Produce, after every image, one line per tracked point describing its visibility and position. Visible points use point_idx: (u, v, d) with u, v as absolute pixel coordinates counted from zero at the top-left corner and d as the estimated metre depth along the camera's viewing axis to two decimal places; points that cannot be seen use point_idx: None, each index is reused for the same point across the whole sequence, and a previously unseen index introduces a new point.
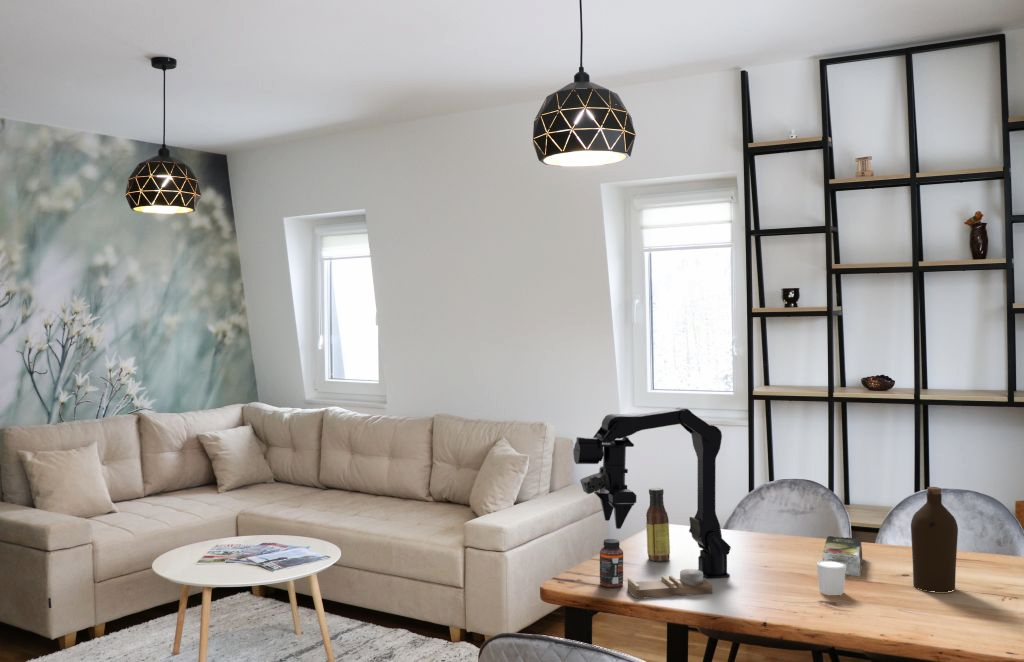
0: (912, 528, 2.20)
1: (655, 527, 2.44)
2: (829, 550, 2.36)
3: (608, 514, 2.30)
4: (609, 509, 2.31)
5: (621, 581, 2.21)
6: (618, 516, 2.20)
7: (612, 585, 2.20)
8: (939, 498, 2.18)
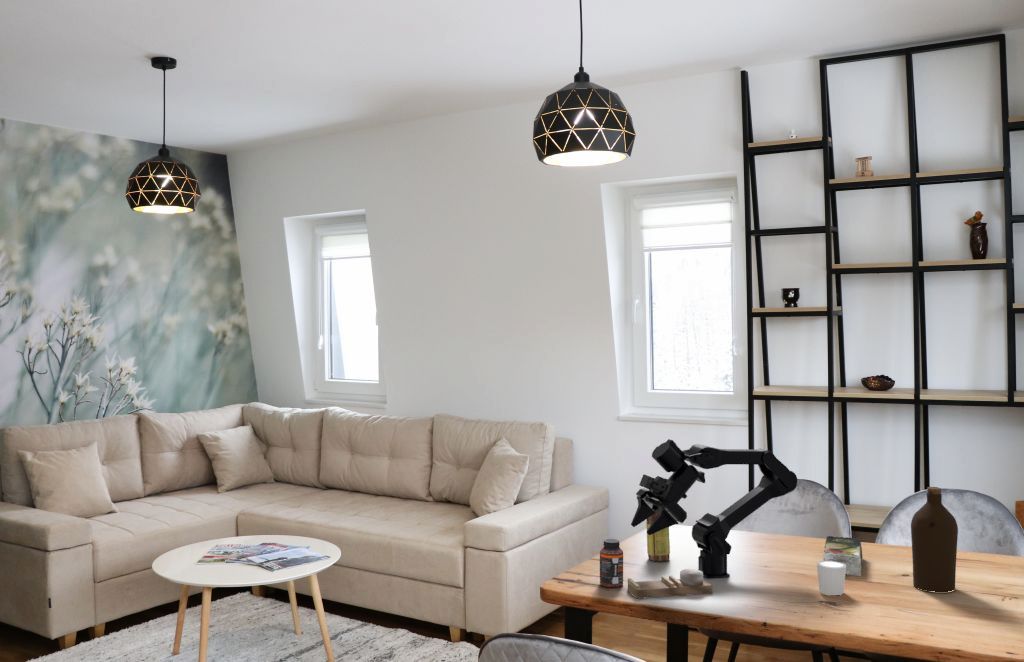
0: (912, 528, 2.20)
1: None
2: (830, 550, 2.36)
3: (636, 521, 2.30)
4: (640, 518, 2.30)
5: (621, 581, 2.21)
6: (657, 523, 2.20)
7: (612, 585, 2.20)
8: (939, 498, 2.18)
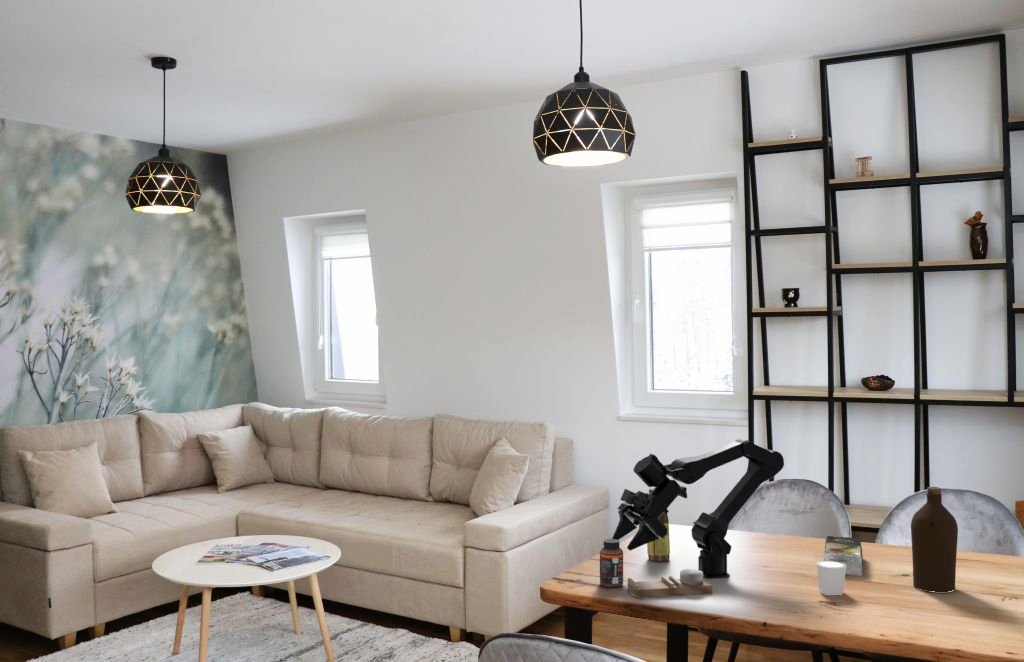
0: (912, 528, 2.20)
1: None
2: (830, 550, 2.36)
3: (618, 536, 2.28)
4: (621, 533, 2.29)
5: (621, 581, 2.21)
6: (637, 539, 2.19)
7: (612, 585, 2.20)
8: (939, 498, 2.18)
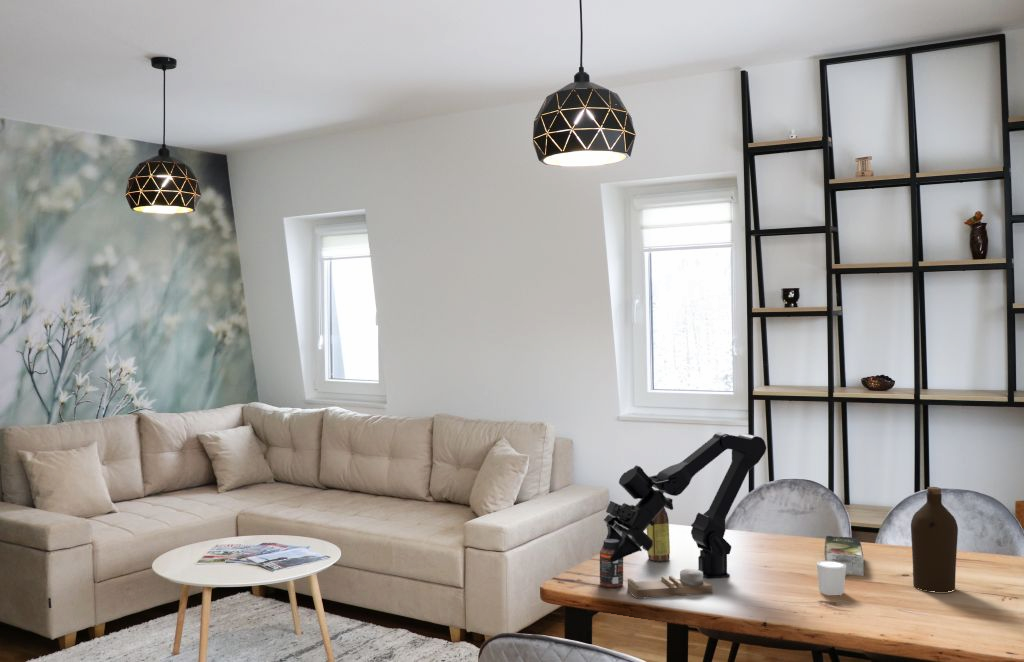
0: (912, 528, 2.20)
1: (655, 527, 2.44)
2: (832, 550, 2.36)
3: None
4: None
5: (621, 581, 2.21)
6: (620, 550, 2.19)
7: (612, 585, 2.20)
8: (939, 498, 2.18)
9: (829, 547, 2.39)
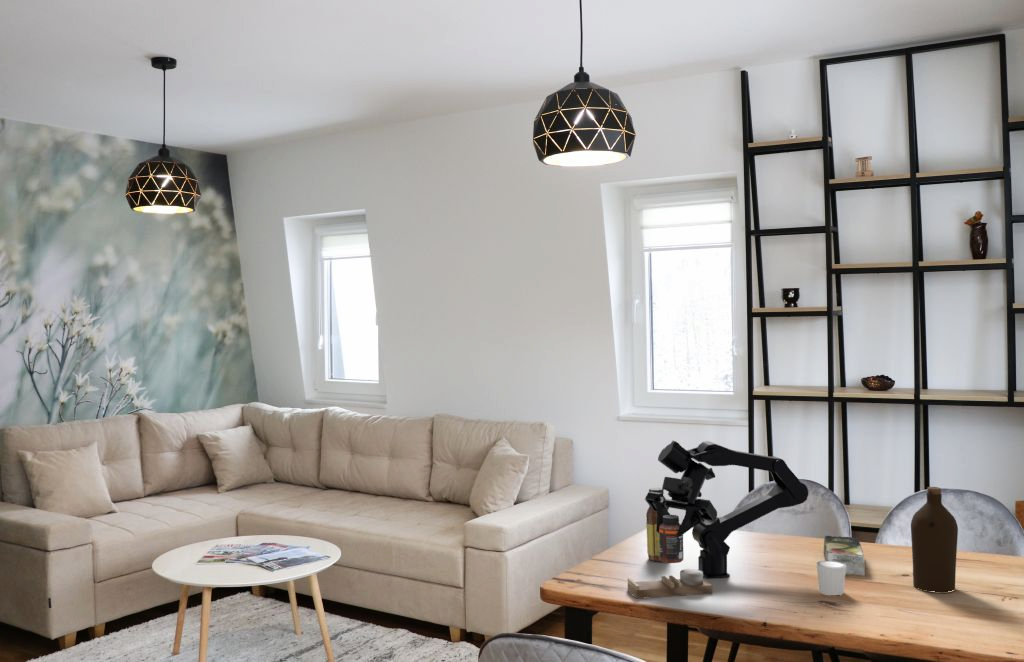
0: (912, 528, 2.20)
1: (655, 527, 2.44)
2: (832, 550, 2.36)
3: None
4: None
5: None
6: (686, 524, 2.20)
7: (678, 560, 2.20)
8: (939, 498, 2.18)
9: (829, 547, 2.39)
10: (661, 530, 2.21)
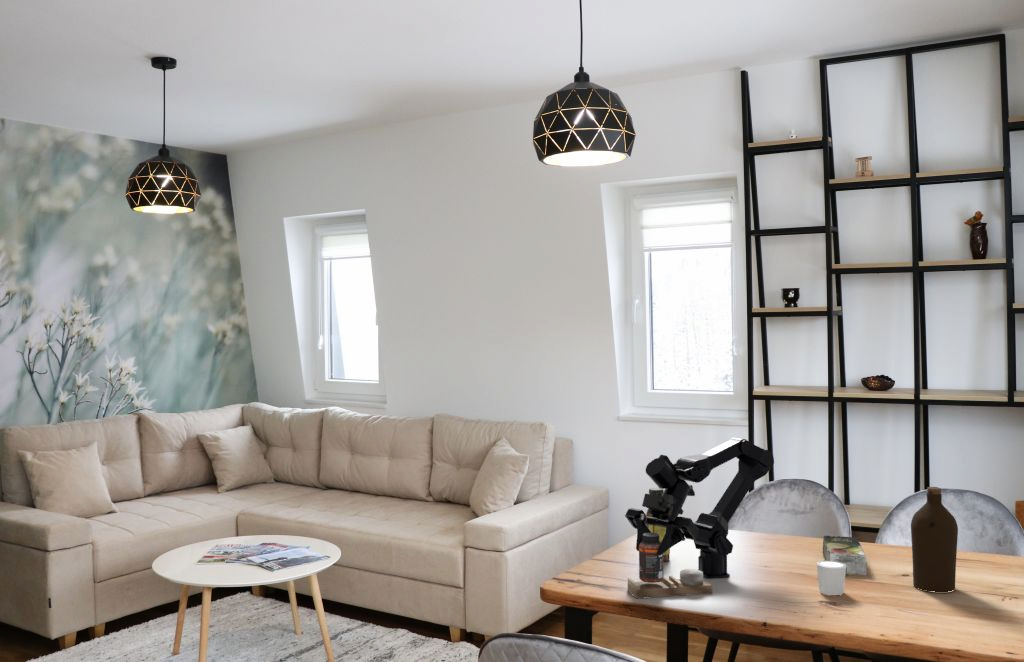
0: (912, 528, 2.20)
1: (655, 527, 2.44)
2: (834, 550, 2.36)
3: None
4: None
5: (663, 574, 2.16)
6: (666, 542, 2.14)
7: (658, 580, 2.14)
8: (939, 498, 2.18)
9: (830, 547, 2.39)
10: (641, 548, 2.15)
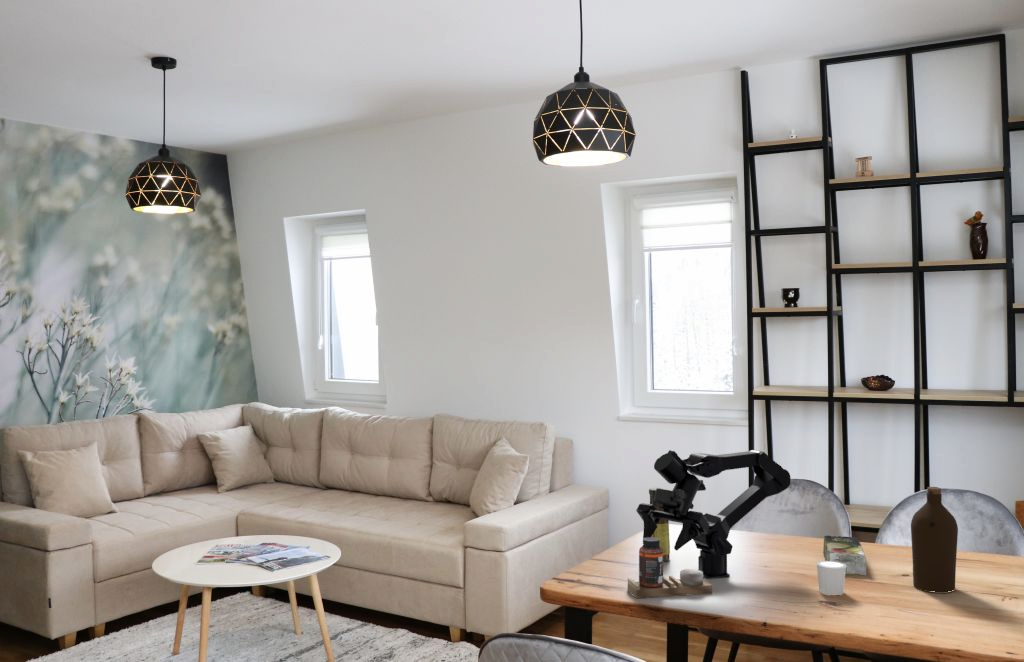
0: (912, 528, 2.20)
1: None
2: (833, 550, 2.36)
3: None
4: (649, 534, 2.23)
5: None
6: (683, 537, 2.16)
7: (658, 585, 2.14)
8: (939, 498, 2.18)
9: (830, 547, 2.39)
10: (641, 553, 2.15)
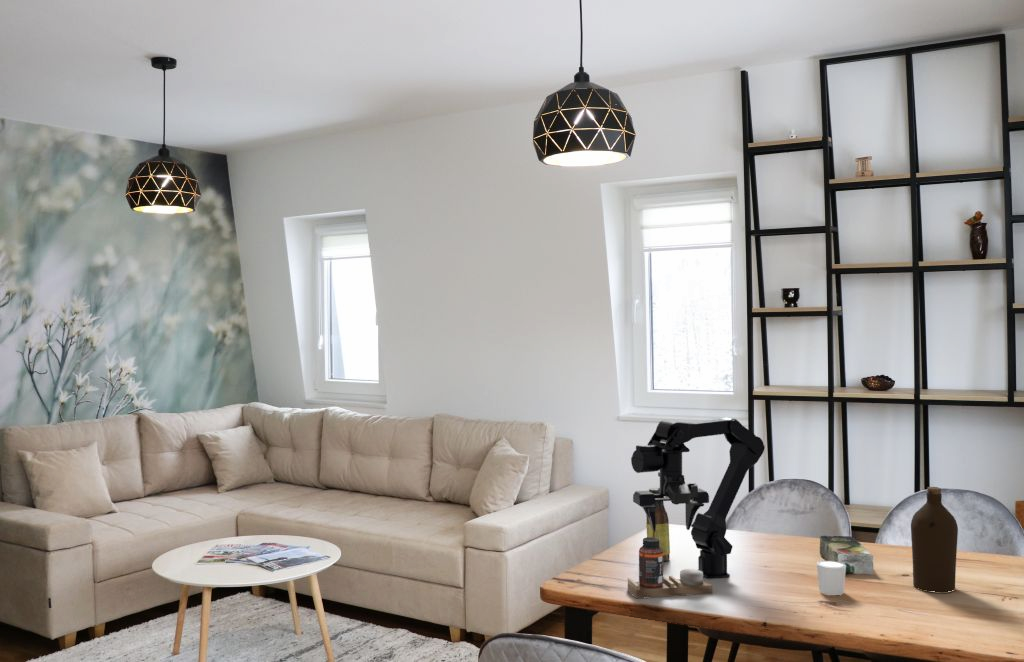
0: (912, 528, 2.20)
1: None
2: (839, 550, 2.36)
3: None
4: None
5: None
6: None
7: (658, 585, 2.14)
8: (939, 498, 2.18)
9: (834, 547, 2.38)
10: (641, 553, 2.15)
